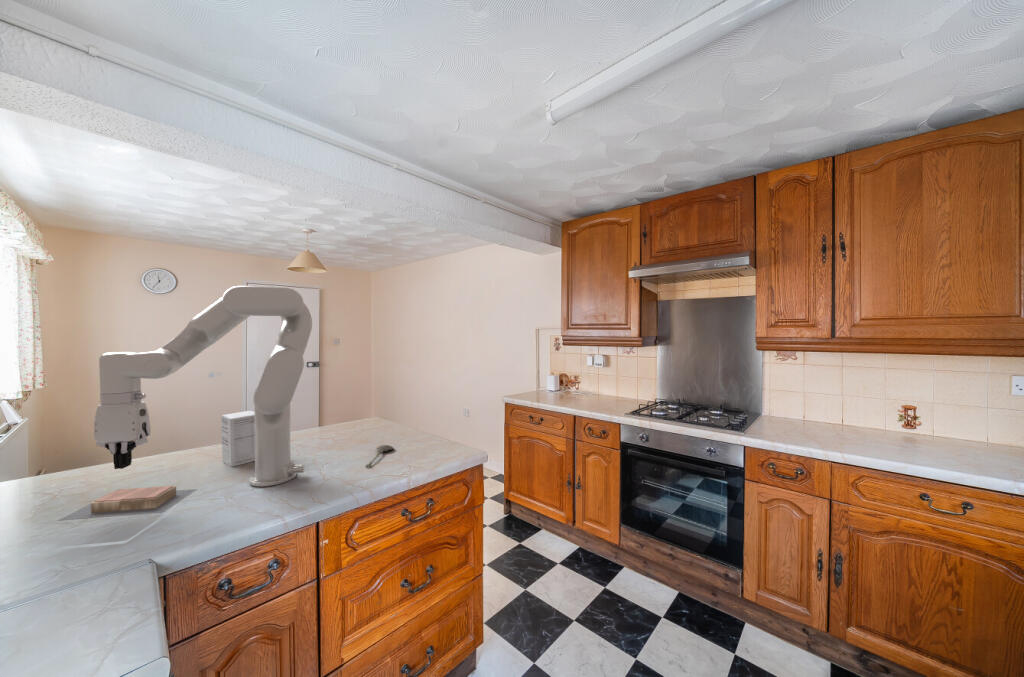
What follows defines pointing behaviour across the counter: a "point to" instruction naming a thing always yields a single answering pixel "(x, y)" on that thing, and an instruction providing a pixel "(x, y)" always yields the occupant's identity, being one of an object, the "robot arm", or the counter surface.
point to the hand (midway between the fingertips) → (122, 466)
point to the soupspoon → (381, 449)
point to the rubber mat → (86, 510)
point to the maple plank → (133, 499)
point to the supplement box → (238, 438)
